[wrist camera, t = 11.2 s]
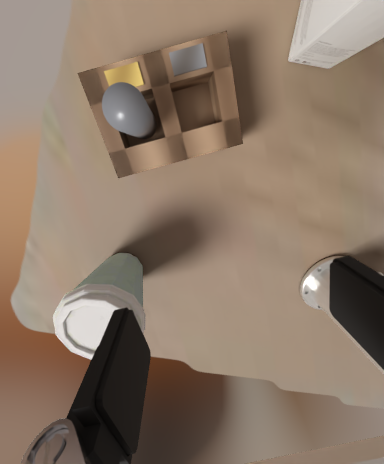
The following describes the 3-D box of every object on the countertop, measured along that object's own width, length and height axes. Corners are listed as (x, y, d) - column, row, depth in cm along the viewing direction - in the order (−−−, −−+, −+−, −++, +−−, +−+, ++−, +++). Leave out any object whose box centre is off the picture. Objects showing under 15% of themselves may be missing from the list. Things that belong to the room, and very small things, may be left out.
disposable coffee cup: (104, 295, 39) (67, 376, 25) (83, 245, 35) (24, 308, 21) (159, 284, 39) (153, 358, 25) (145, 233, 35) (128, 288, 21)
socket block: (214, 52, 26) (226, 25, 21) (230, 144, 31) (243, 143, 25) (96, 86, 27) (75, 69, 21) (128, 173, 31) (118, 178, 25)
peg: (151, 104, 26) (138, 76, 16) (160, 134, 28) (152, 126, 17) (124, 112, 26) (94, 89, 16) (134, 141, 28) (112, 137, 18)
